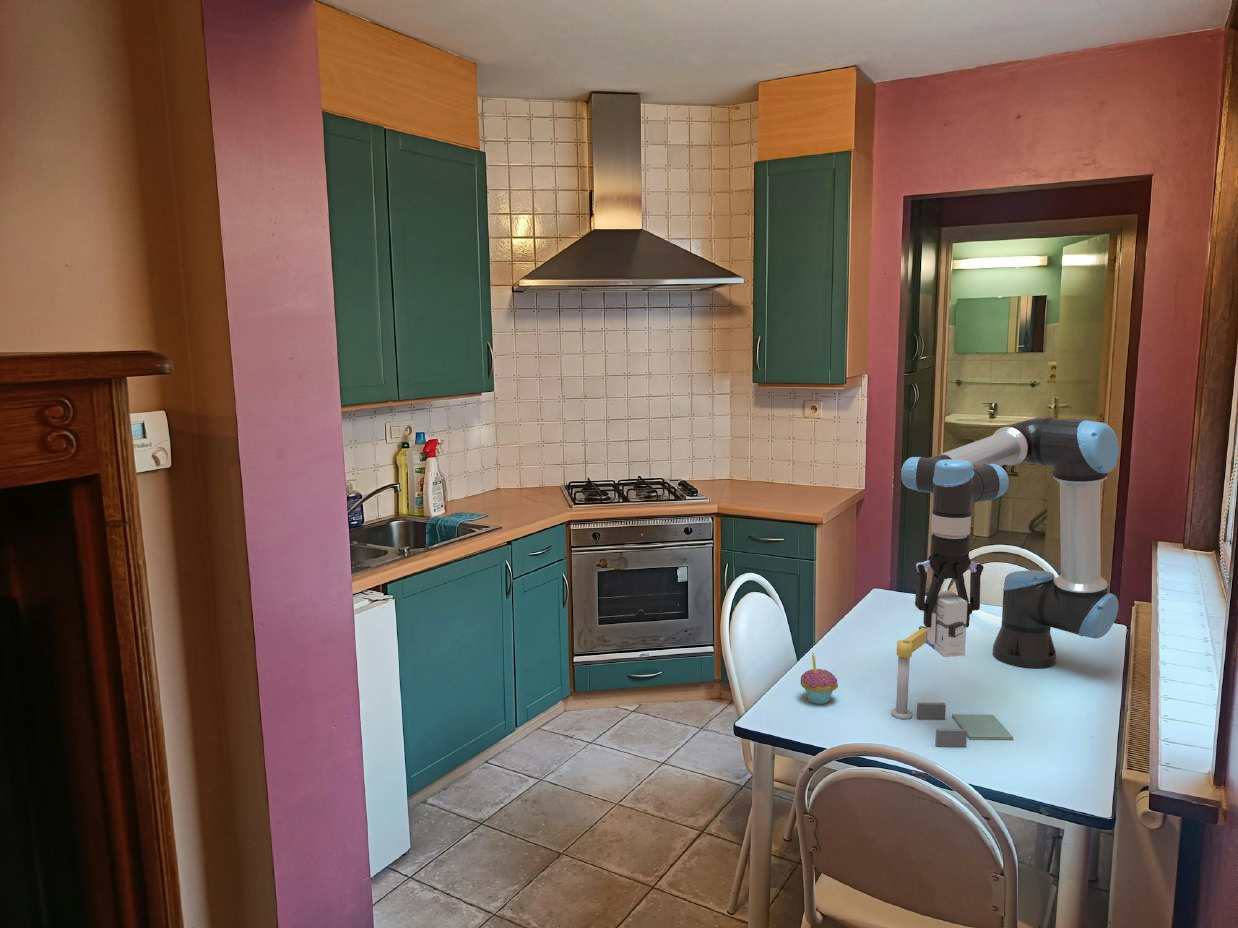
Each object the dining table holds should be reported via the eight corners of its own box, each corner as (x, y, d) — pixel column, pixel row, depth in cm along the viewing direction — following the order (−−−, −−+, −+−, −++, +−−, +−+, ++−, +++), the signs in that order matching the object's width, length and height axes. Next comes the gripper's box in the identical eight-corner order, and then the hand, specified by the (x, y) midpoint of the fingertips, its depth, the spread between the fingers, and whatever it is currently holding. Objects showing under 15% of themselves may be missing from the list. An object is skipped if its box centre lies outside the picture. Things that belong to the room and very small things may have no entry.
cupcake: (815, 710, 197) (817, 659, 195) (792, 696, 205) (793, 648, 203) (844, 702, 201) (846, 653, 199) (820, 689, 209) (821, 641, 207)
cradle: (938, 711, 196) (941, 653, 194) (966, 747, 179) (969, 684, 177) (888, 710, 197) (891, 653, 195) (911, 746, 180) (914, 684, 178)
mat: (992, 717, 193) (992, 714, 193) (1013, 739, 182) (1013, 737, 182) (951, 716, 193) (952, 714, 193) (969, 739, 183) (969, 736, 182)
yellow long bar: (908, 659, 190) (908, 646, 190) (894, 655, 192) (894, 642, 192) (932, 640, 201) (933, 628, 201) (919, 637, 203) (919, 625, 203)
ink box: (925, 643, 188) (927, 590, 186) (947, 642, 188) (949, 589, 186) (942, 657, 179) (945, 602, 177) (965, 656, 180) (968, 601, 178)
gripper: (988, 530, 183) (982, 635, 187) (900, 530, 184) (896, 635, 187) (1002, 538, 176) (996, 648, 179) (911, 538, 176) (906, 647, 180)
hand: (945, 641), depth 183 cm, fingers closed on ink box, 5 cm apart
